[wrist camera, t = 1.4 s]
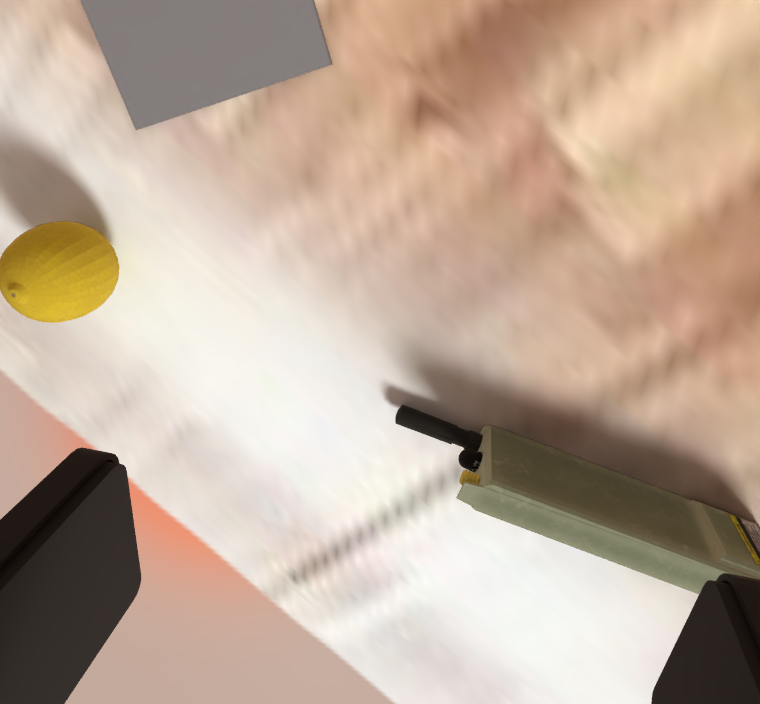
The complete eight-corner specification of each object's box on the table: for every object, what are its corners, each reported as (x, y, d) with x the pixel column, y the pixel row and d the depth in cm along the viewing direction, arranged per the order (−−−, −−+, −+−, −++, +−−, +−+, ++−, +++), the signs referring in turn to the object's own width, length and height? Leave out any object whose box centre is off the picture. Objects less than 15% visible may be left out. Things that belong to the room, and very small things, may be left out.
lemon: (135, 211, 37) (50, 249, 30) (148, 295, 39) (72, 349, 32) (53, 204, 38) (-49, 239, 31) (71, 287, 40) (-20, 338, 33)
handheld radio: (736, 553, 41) (391, 424, 41) (765, 518, 39) (407, 384, 39) (780, 635, 35) (374, 483, 35) (816, 598, 33) (393, 439, 33)
